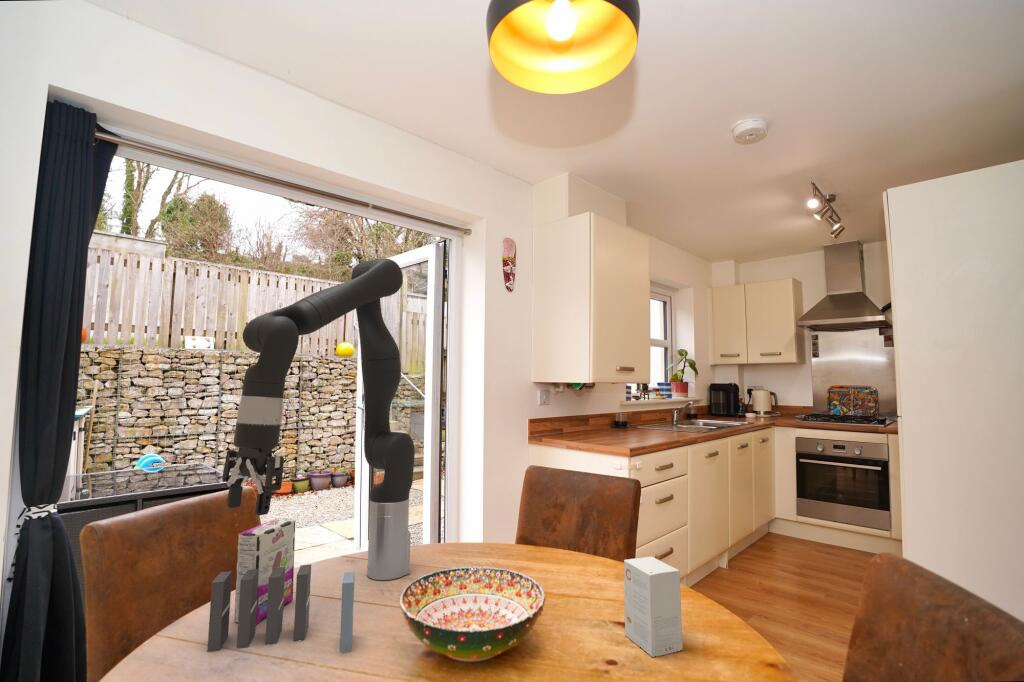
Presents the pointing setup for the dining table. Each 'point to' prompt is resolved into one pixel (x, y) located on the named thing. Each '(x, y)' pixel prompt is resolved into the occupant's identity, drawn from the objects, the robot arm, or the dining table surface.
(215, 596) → the end domino
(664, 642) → the small box
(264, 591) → the candy bar box
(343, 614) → the slate domino
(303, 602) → the black domino
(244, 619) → the black domino
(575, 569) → the dining table surface
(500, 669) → the dining table surface
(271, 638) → the black domino
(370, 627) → the dining table surface
